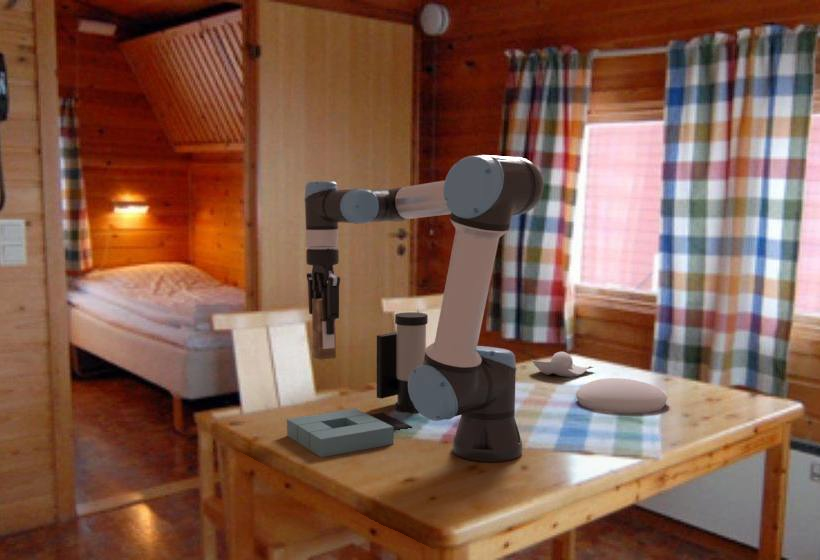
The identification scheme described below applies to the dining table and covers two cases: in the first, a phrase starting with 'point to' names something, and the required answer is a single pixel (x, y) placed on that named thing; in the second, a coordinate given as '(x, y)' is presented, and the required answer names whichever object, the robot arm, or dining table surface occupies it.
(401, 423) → the smartphone
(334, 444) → the socket block
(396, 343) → the light fixture
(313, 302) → the walnut peg
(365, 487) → the dining table surface
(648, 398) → the decorative item
